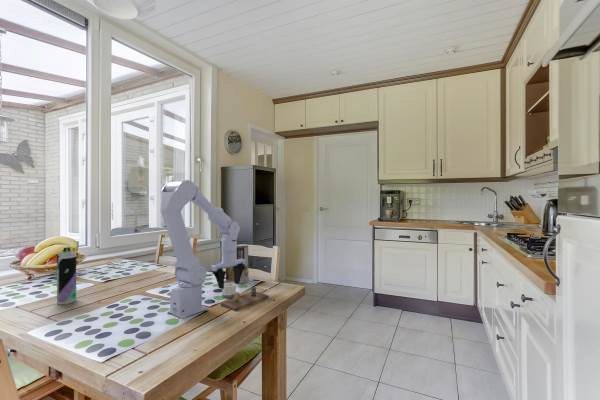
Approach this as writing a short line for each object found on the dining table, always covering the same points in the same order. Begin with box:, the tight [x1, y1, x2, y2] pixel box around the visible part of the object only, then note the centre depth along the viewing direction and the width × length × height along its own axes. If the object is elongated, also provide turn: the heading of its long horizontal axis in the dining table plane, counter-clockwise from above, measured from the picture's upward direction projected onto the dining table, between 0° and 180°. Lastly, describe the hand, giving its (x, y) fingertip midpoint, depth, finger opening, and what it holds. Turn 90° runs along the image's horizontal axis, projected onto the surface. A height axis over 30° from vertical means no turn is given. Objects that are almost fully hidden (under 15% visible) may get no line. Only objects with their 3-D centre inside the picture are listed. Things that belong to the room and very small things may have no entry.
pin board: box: [220, 286, 270, 312], centre depth 102 cm, size 16×8×4 cm, turn 143°
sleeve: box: [221, 282, 237, 300], centre depth 108 cm, size 5×5×4 cm
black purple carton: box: [56, 247, 77, 305], centre depth 102 cm, size 6×6×20 cm
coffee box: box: [225, 245, 249, 284], centre depth 128 cm, size 9×6×16 cm
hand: (229, 285), depth 108 cm, fingers open, 7 cm apart
